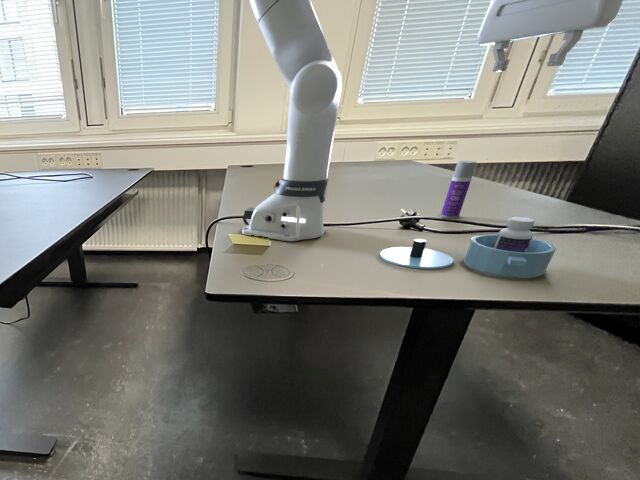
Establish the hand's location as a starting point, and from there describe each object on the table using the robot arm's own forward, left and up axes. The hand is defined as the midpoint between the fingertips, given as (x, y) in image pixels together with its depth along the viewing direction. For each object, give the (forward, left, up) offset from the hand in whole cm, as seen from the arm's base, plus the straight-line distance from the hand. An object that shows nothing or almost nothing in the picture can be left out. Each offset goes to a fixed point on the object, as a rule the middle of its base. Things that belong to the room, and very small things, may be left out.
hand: (525, 68), depth 74 cm
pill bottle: (+7, -7, -35) cm, 36 cm away
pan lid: (-9, -8, -34) cm, 36 cm away
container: (0, +40, -35) cm, 54 cm away
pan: (+7, -7, -35) cm, 36 cm away
